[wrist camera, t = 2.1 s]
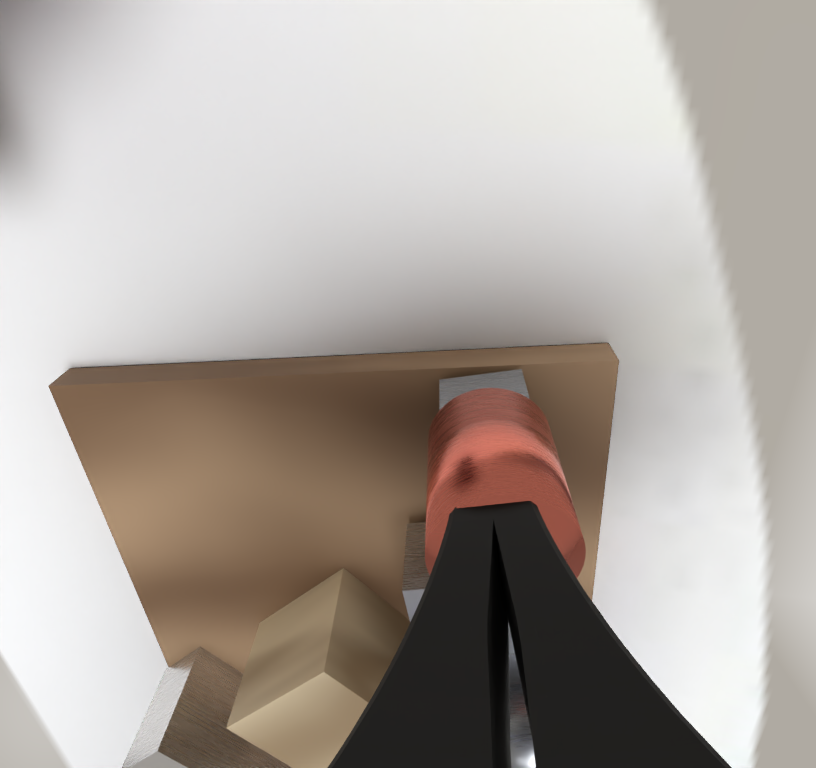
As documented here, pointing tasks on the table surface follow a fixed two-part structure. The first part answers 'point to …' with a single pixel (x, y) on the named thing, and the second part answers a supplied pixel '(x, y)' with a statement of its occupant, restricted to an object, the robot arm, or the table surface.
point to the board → (297, 472)
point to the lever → (491, 491)
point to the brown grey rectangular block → (195, 720)
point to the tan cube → (316, 671)
